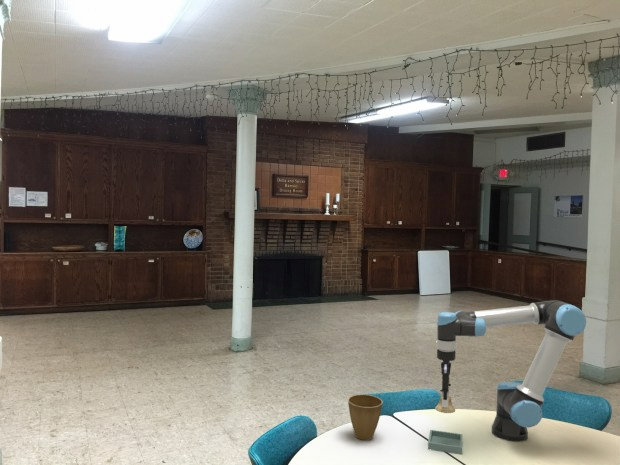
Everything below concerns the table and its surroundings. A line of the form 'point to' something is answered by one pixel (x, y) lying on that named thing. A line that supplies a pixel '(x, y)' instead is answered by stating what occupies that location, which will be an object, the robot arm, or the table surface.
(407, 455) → the table surface
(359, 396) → the plant pot
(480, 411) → the table surface
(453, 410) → the hand bell
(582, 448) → the table surface
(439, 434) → the tray
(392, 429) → the table surface
